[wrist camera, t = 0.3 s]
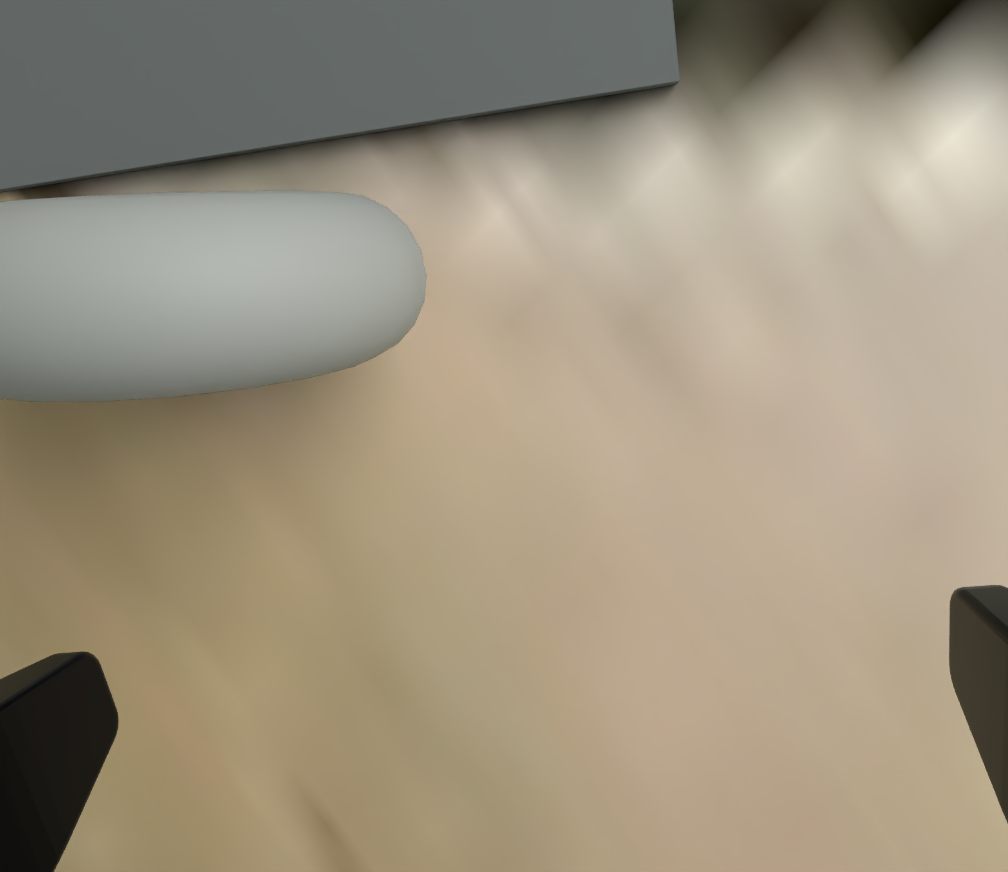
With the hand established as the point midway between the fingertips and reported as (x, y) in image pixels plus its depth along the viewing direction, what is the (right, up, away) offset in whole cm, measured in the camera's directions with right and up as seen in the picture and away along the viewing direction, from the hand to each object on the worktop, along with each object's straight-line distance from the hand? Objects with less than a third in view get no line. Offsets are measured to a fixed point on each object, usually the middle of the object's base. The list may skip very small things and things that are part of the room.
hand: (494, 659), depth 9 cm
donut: (-6, +7, +14) cm, 16 cm away
